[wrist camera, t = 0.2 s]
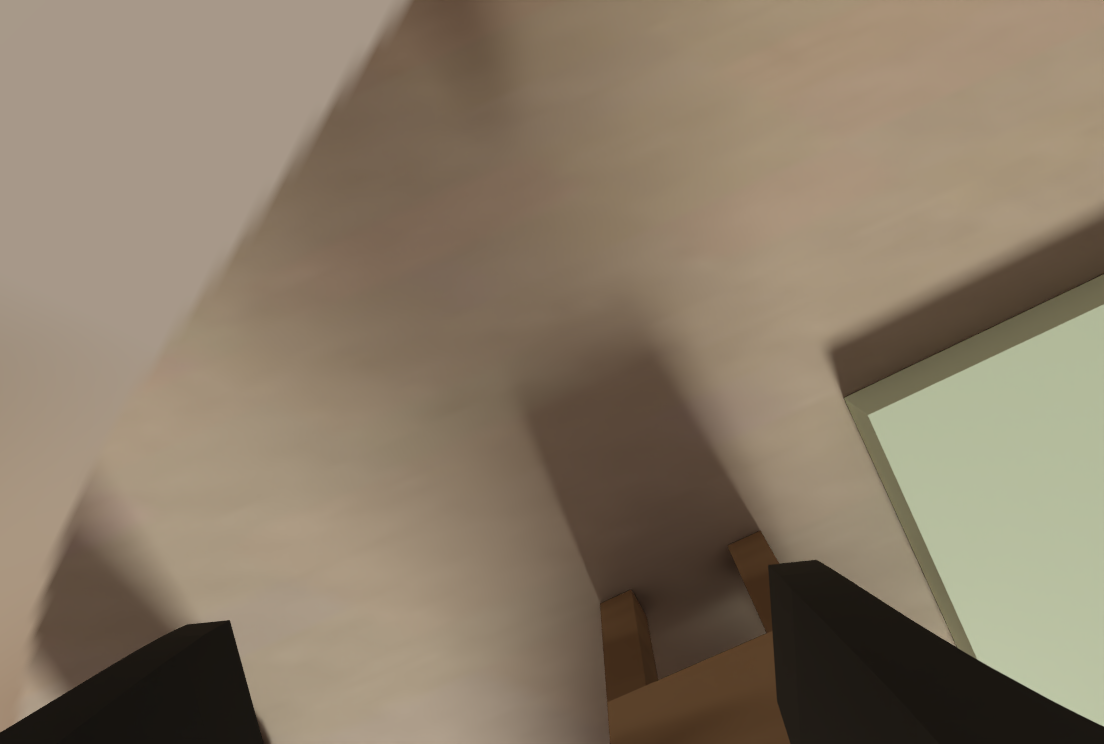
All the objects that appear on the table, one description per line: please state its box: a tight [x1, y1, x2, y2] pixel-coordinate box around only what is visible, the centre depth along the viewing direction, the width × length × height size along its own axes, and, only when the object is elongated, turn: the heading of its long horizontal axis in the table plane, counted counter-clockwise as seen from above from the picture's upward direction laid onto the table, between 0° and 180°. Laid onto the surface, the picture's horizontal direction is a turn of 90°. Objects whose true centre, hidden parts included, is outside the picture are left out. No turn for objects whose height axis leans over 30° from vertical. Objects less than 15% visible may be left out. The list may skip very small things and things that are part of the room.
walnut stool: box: [600, 531, 790, 744], centre depth 16 cm, size 5×5×7 cm
